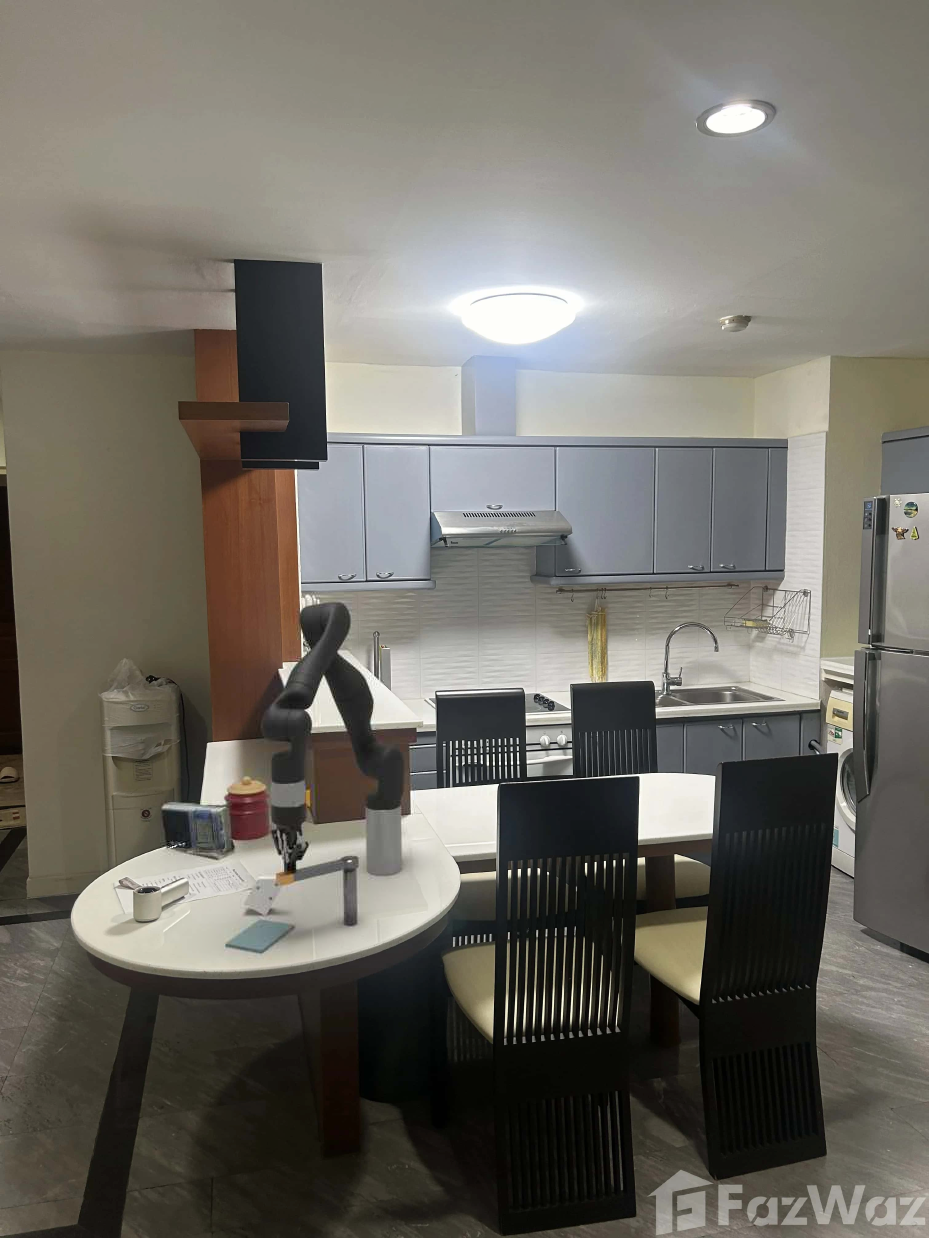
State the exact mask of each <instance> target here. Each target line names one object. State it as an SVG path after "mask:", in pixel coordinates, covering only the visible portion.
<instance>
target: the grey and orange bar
mask: <svg viewBox="0 0 929 1238" xmlns="http://www.w3.org/2000/svg"><path fill="white" fill-rule="evenodd" d="M359 862H360V861H359V856H357V855H345V856H342V857H340V859H335V860H331V861H327V862H323V863H322V862H321V863H318V864H315V865H309V866H305V867H302V868H296V870H292V871H284V870H283V871H281V872H277V873H275V876H276V883H277V884H279V885H280V886H282V887H283V886H286V885H291V884H294V883H296V882H300V881H303V880H308V879H311V878H316V877H320V876H324V875H329V874H333V873H336V872H340V871H343V870H353V869H356V870H357V869H358V868H359V867H360V865H359Z"/></svg>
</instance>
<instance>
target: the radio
mask: <svg viewBox="0 0 929 1238" xmlns="http://www.w3.org/2000/svg"><path fill="white" fill-rule="evenodd" d="M160 814H161V820H162V826H163V831H164V838H165V839H164V840H165V848H166V849H168V848H170V847H172V846H175V845H177V846H176V847H173V848H171V849H170V850H172V849H174V850H173V851H176V852H180V853H184V854H188V855H193V856H198V857H202V858H207V859H212V860H215V861H221V860H223V859H224V858H227V857H229V856H232V855H233V854H235V853H236V852H235V850H236V845H235V843H234V841H233V839H231V825H230V812H229V805H228V804H226V803H225V804H199V803H193V802H191V803H190V802H189V803H187V802H177V801H176V802H175V801H172V802H171V801H170V802H165V803H162V806H161V808H160ZM183 843H185V844H183ZM179 844H181V845H179Z"/></svg>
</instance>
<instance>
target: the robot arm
mask: <svg viewBox="0 0 929 1238" xmlns="http://www.w3.org/2000/svg"><path fill="white" fill-rule="evenodd" d="M351 619H352V618H351V614H350V611H349V609H348V608H347V606H346V605H345V604H344V603H343V602H340V601H331V602H330V601H329V602H323V603H315V604H311V605H307V606H305V607H303V608H302V609H301V610H300V612H299V616H298V620H299V626H300V630H301V633H302V635H303V638H304V639H305V642H306V644H307V645H308V648H309V649H310V650H308V652H307V653H306V654H305V655H303V657H301V658H300V659H299V660H298V661H297V663H296V664H295V665H294V667H293V668H292V669H291V671H290V673H289V675H288V678H287V681H286V683H285V685H284V687H283V690H282V691H281V693H279V695H278V696H277V697H276V699H274V701H273V702H272V703H271V705H269V707H268V708H267V709H266V711H265V713H264V715H263V717H262V719H261V724H260V725H261V726H260V729H261V733H262V736H263V737H264V738H265V739H266V740H268V741H271V742H284V743H291V748H290V749H288V750H281V751H278V752H276V753H274V754H273V755H272V756H271V759H270V760H271V762H270V766H271V767H270V769H271V772H270V773H271V783H270V784H271V786H270V820H271V821H270V822H271V823H272V824H274V825H275V827H276V828H274V829H270V834H271V838H272V840H273V843H274V845H275V849H276V852H277V855H278V856H281V860H282V861H283V872H284V871H292V870H296V869H297V862H298V861H301V860H303V858H304V857H305V855H306V853H307V850H308V848H309V844H310V843H309V841H305V840H304V839H303V829H302V825H303V823H305V822H306V820H307V817H308V816H307V808H306V791H307V787H306V780H305V779H306V777H305V775H306V773H305V759H306V754H307V749H308V744H309V741H310V736H311V734H312V728H313V721H312V717H311V715H310V714H309V712H308V711H306V710H307V709H310V708H311V706H312V705H313V703H314V701H315V698H316V695H317V692H318V690H319V689H320V688H319V687H320V685H321V682H322V680H323V677H324V679H325V681H326V684H327V686H328V688H329V691H330V693H331V695H332V696H331V697H332V698H333V701H334V704H335V706H336V708H337V711H338V712H339V714H340V717H341V720H342V721H343V724H344V727H345V729H346V731H347V734H348V737H349V740H350V743H351V747H352V750H353V753H354V757H355V760H356V764H357V767H358V770H359V771H360V772H361V774H362V775H363V776H365V777H366V778H369V779H373V780H377V781H378V784H377V790H374V791H370V792H368V793H367V794H366V796H365V801H364V802H365V805H364V806H365V850H366V851H365V852H366V853H365V855H366V857H365V858H366V861H365V862H366V872H367V873H368V874H370V875H373V876H380V877H385V876H392V875H396V874H398V873H400V872H402V869H403V853H402V852H403V851H402V850H403V846H402V843H403V839H402V834H403V833H402V799H403V794H404V788H405V786H404V785H405V757H404V753H403V751H402V750H401V749H400V747H398V746H395V745H390V744H385V743H380V742H379V741H378V740H377V738H376V736H375V734H374V731H373V729H372V725H371V722H372V717H373V712H374V704H375V703H374V702H375V701H374V697H373V694H372V691H371V689H370V686H369V684H368V682H367V679H366V677H365V675H364V674H363V673H362V672H360V670H359V669H358V668H356V667H355V666H354V665H353V664H352V663H350V662H349V661H348V660H346V658H344V657H343V656H342V655H341V654H340V653H339V652H338V651H339V649H340V648H341V647H342V645H343V643H344V641H346V638H347V637H348V634H349V632H350V628H351V622H352V620H351Z"/></svg>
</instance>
